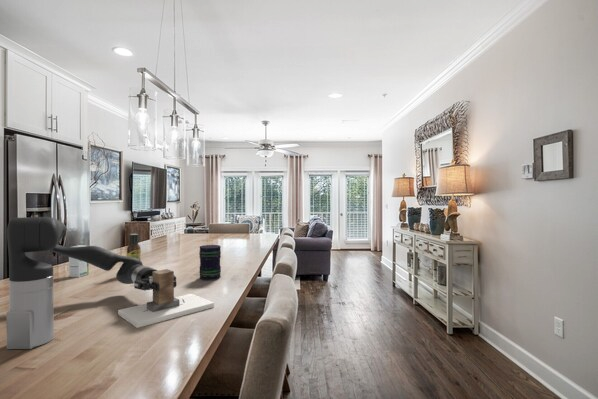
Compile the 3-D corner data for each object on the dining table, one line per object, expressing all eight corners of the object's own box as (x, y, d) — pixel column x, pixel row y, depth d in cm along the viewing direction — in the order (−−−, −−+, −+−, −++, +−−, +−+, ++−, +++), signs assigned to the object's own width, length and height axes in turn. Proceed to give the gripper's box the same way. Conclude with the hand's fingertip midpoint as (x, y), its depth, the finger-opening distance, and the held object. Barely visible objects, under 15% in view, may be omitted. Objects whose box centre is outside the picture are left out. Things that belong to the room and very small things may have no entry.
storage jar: (212, 274, 167) (212, 244, 167) (225, 277, 161) (225, 246, 161) (195, 278, 160) (195, 246, 159) (207, 281, 153) (207, 248, 153)
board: (137, 327, 99) (137, 322, 99) (118, 314, 111) (118, 310, 111) (214, 307, 118) (214, 302, 118) (191, 297, 129) (191, 293, 129)
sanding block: (152, 312, 108) (152, 275, 108) (146, 308, 112) (146, 272, 112) (179, 305, 115) (179, 270, 115) (172, 302, 118) (172, 268, 118)
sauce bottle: (131, 276, 163) (131, 235, 163) (123, 274, 166) (123, 234, 166) (143, 273, 169) (143, 233, 169) (135, 272, 172) (135, 233, 172)
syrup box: (79, 277, 161) (78, 247, 161) (68, 276, 162) (68, 246, 162) (88, 274, 166) (88, 245, 166) (78, 274, 168) (78, 244, 168)
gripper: (125, 270, 118) (144, 278, 106) (165, 264, 128) (187, 271, 117) (125, 291, 118) (144, 302, 106) (165, 283, 128) (187, 292, 117)
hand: (166, 286), depth 112 cm, fingers closed on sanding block, 5 cm apart
